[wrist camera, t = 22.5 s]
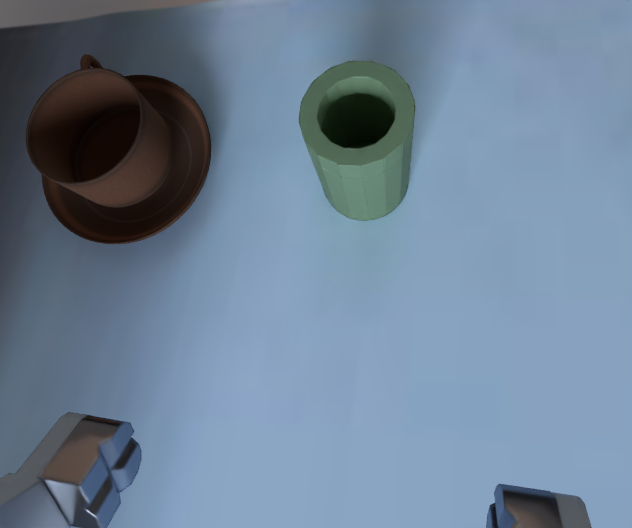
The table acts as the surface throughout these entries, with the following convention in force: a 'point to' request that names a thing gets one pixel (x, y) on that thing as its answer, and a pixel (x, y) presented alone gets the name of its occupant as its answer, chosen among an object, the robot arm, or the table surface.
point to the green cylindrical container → (360, 137)
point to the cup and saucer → (118, 152)
